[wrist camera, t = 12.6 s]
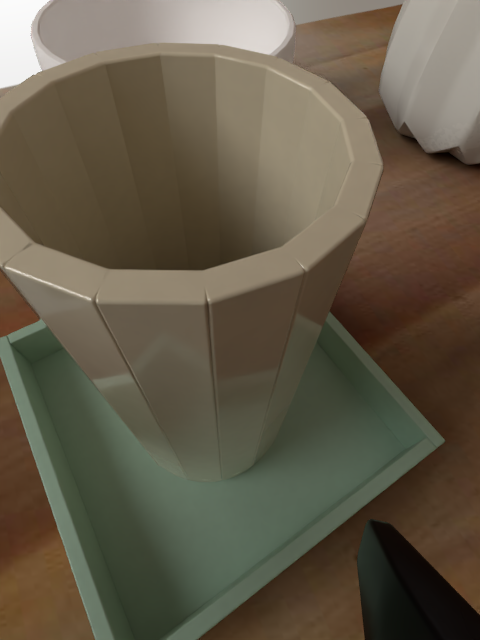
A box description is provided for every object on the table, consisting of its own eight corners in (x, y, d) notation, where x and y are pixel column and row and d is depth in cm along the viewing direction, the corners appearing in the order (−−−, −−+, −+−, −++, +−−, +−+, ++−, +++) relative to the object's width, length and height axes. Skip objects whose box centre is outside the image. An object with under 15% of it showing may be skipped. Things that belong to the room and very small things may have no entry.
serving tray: (135, 678, 12) (116, 704, 10) (21, 364, 18) (-6, 340, 16) (418, 455, 16) (446, 441, 14) (251, 256, 22) (253, 225, 20)
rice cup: (250, 510, 14) (313, 386, 4) (106, 444, 15) (-160, 205, 5) (300, 368, 17) (411, 84, 7) (177, 322, 19) (111, 18, 8)
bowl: (94, 238, 22) (38, 107, 16) (65, 108, 29) (19, -18, 23) (315, 187, 25) (346, 59, 19) (240, 81, 32) (244, -38, 26)
